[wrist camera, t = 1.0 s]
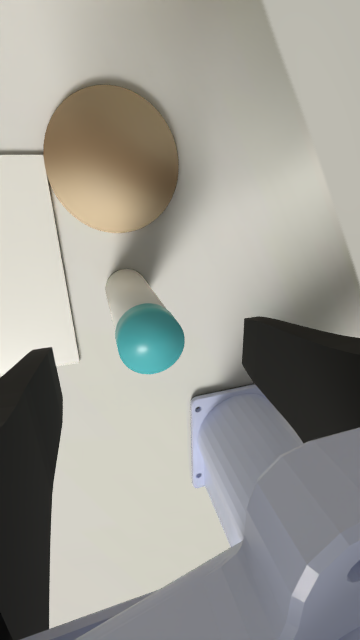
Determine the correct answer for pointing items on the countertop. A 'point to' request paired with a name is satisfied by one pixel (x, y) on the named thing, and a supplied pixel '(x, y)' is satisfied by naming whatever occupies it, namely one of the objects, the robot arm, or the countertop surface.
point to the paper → (31, 267)
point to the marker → (142, 324)
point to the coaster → (110, 158)
